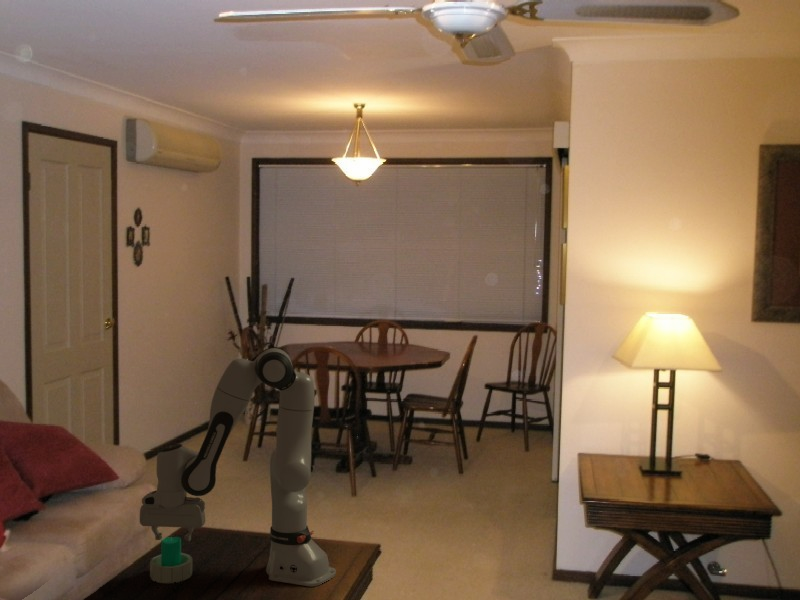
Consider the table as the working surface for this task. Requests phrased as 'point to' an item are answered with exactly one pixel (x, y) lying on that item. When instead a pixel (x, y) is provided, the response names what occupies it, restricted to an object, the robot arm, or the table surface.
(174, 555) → the candle
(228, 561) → the table surface
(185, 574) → the dish
